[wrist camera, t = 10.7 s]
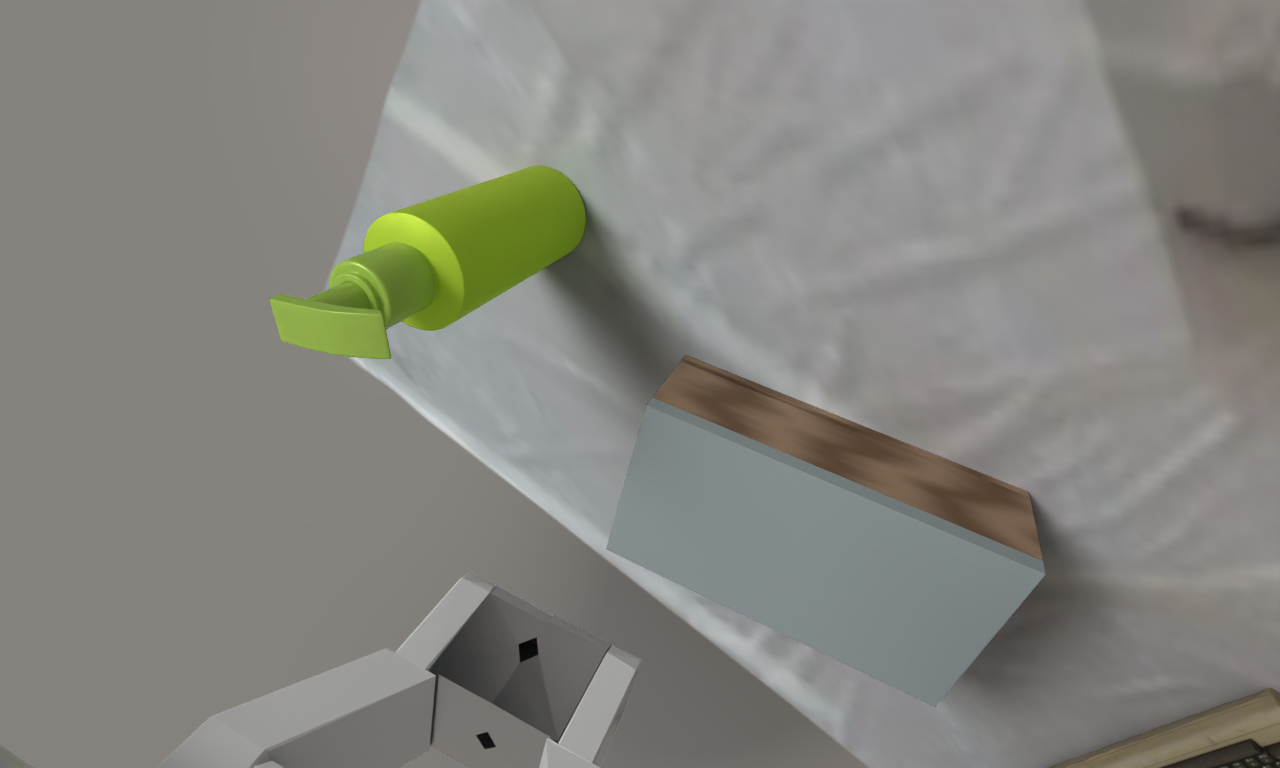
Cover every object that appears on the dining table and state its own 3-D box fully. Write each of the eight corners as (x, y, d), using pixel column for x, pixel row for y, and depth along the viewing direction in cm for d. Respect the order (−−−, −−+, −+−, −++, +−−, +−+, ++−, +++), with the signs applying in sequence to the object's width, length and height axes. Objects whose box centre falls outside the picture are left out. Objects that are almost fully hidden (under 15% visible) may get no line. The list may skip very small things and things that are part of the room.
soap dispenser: (602, 264, 42) (391, 409, 26) (510, 252, 44) (262, 380, 28) (599, 169, 39) (361, 266, 23) (501, 162, 42) (220, 246, 25)
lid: (1042, 561, 33) (1045, 574, 32) (935, 693, 40) (934, 707, 39) (652, 397, 38) (646, 405, 37) (612, 539, 44) (606, 549, 43)
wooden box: (1028, 492, 38) (1042, 559, 33) (934, 619, 45) (934, 691, 40) (685, 355, 43) (653, 396, 38) (645, 488, 49) (613, 538, 44)
